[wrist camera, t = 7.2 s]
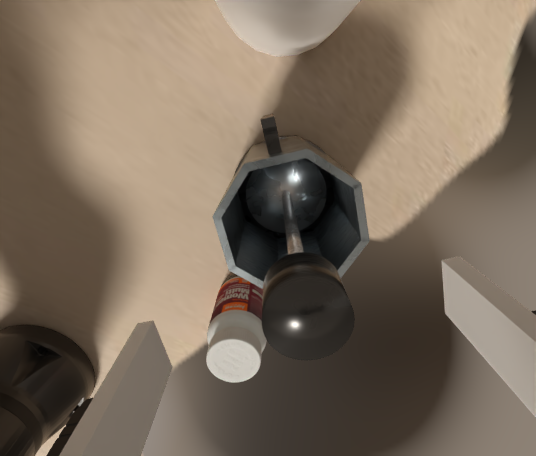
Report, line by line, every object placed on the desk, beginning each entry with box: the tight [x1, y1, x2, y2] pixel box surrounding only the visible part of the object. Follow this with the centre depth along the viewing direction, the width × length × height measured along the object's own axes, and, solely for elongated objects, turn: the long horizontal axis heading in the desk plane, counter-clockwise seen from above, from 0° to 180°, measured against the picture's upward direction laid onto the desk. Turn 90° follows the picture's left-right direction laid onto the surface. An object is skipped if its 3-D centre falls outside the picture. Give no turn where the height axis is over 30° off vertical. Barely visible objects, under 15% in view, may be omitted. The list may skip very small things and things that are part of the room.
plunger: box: [246, 158, 355, 360], centre depth 25 cm, size 8×8×23 cm
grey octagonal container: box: [213, 114, 369, 289], centre depth 31 cm, size 12×14×12 cm
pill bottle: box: [206, 276, 267, 382], centre depth 37 cm, size 6×6×11 cm
